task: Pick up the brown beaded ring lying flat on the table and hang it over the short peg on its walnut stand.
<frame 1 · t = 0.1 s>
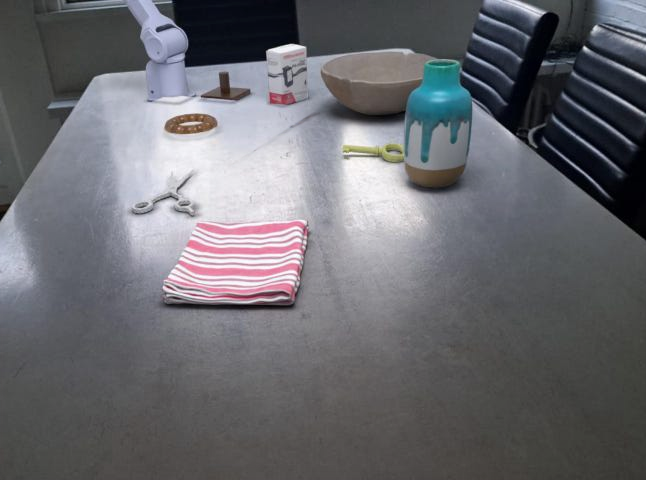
hook stand: (226, 97, 169), on the table
bowl: (380, 112, 152), on the table
brown beaded ring: (191, 125, 146), point 1 cm above the table
ink box: (289, 101, 163), on the table
dish towel: (242, 267, 94), on the table
vase: (433, 185, 115), on the table
key: (376, 157, 128), on the table
scissors: (173, 193, 118), on the table
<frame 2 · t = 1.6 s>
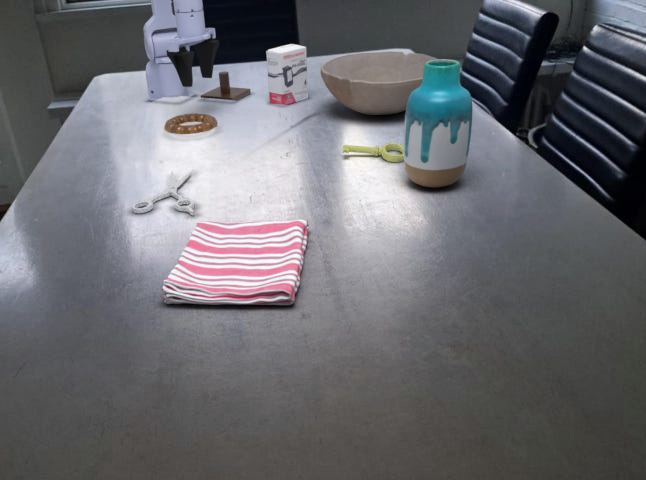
hand: (197, 81, 144), 9 cm above the table, tool pointing down, fingers open, 7 cm apart
nothing on the table moved.
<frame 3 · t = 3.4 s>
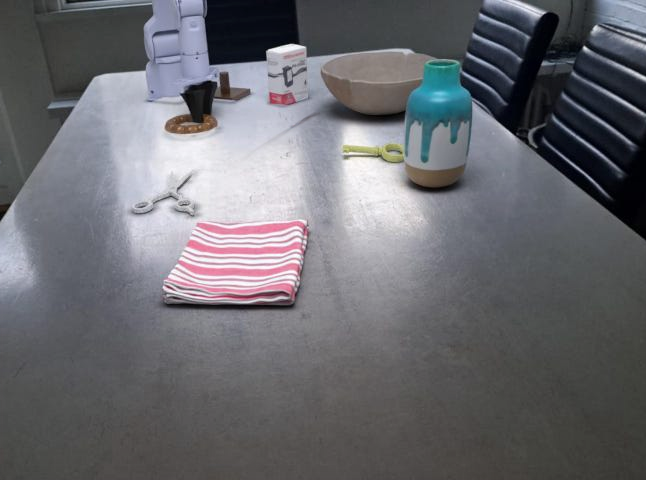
hand: (202, 119, 149), 1 cm above the table, tool pointing down, fingers closed on brown beaded ring, 3 cm apart
brown beaded ring: (191, 125, 146), point 1 cm above the table, touching gripper
everything else where it was.
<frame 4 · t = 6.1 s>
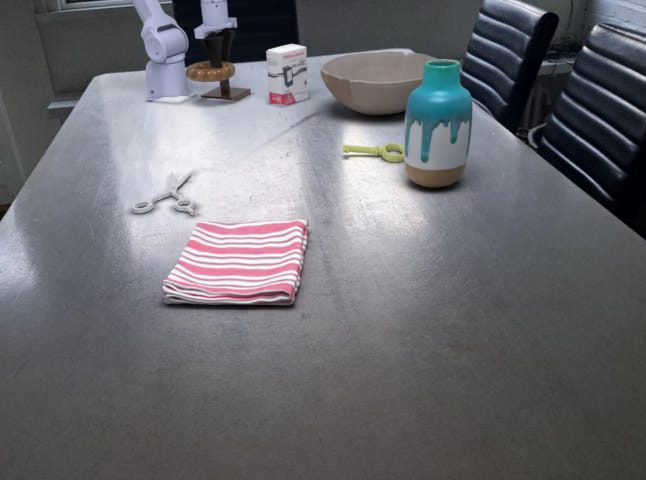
hand: (220, 66, 159), 8 cm above the table, tool pointing down, fingers closed on brown beaded ring, 3 cm apart
brown beaded ring: (210, 71, 156), point 8 cm above the table, touching gripper
everything else where it was.
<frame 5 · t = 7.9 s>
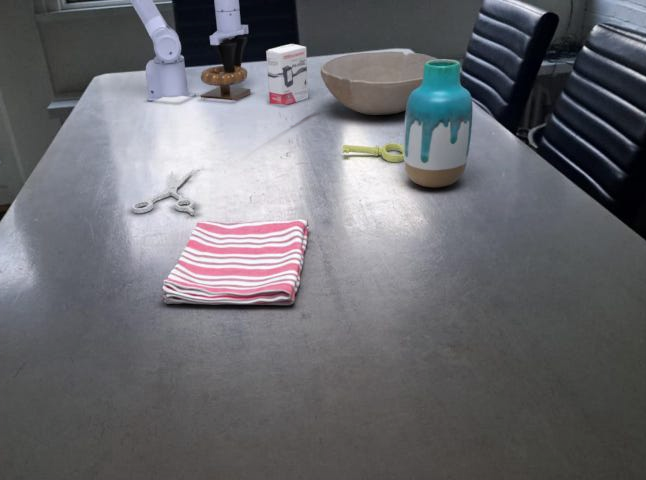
hand: (233, 71, 169), 5 cm above the table, tool pointing down, fingers closed on brown beaded ring, 3 cm apart
brown beaded ring: (224, 75, 166), point 5 cm above the table, touching gripper
everything else where it was.
when the fingers open (3 cm above the table, at t = 9.1 s): brown beaded ring stays where it is, resting on hook stand.
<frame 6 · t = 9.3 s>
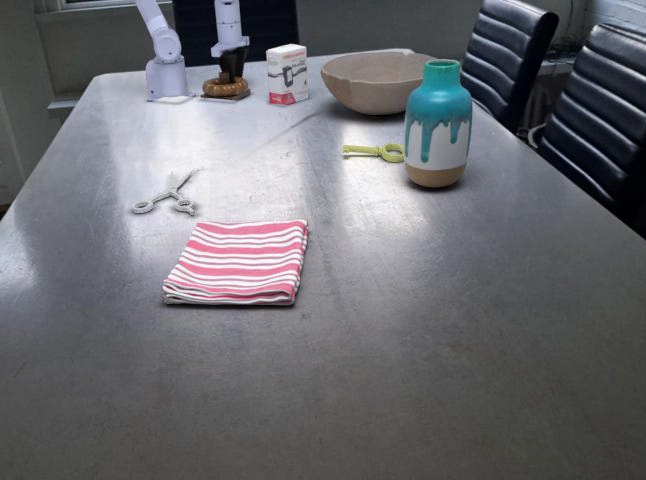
hand: (234, 82, 171), 3 cm above the table, tool pointing down, fingers open, 3 cm apart
brown beaded ring: (225, 86, 168), point 2 cm above the table, touching hook stand
everything else where it was.
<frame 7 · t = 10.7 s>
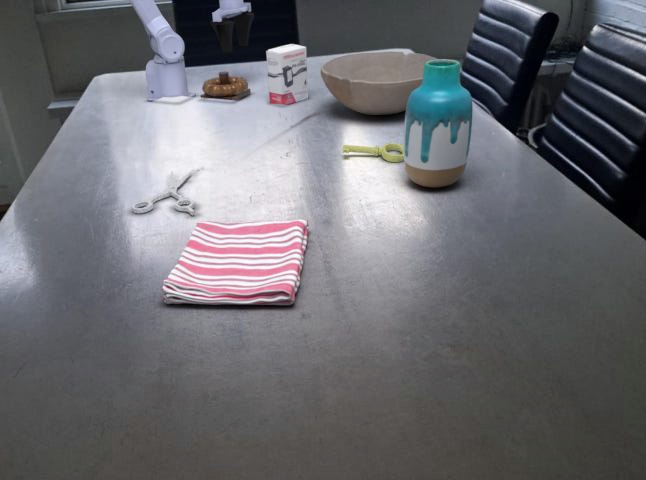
hand: (235, 48, 170), 9 cm above the table, tool pointing down, fingers open, 7 cm apart
nothing on the table moved.
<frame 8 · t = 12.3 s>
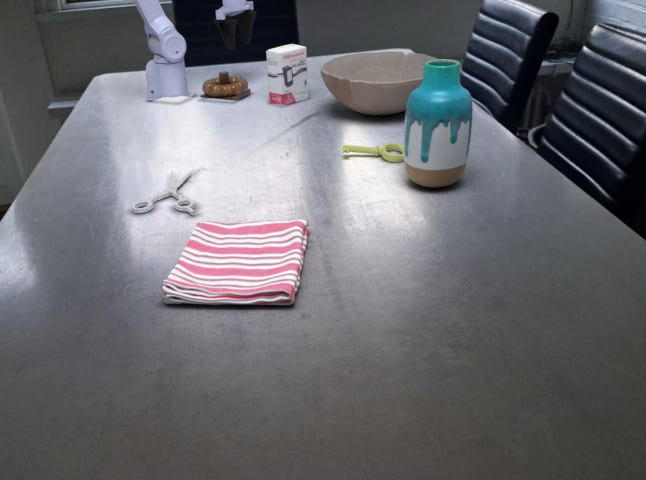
hand: (238, 46, 172), 9 cm above the table, tool pointing down, fingers open, 7 cm apart
nothing on the table moved.
at the end: brown beaded ring 0.1 cm from the hook stand (horizontally); brown beaded ring point 2.5 cm above the table; the gripper is holding nothing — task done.
